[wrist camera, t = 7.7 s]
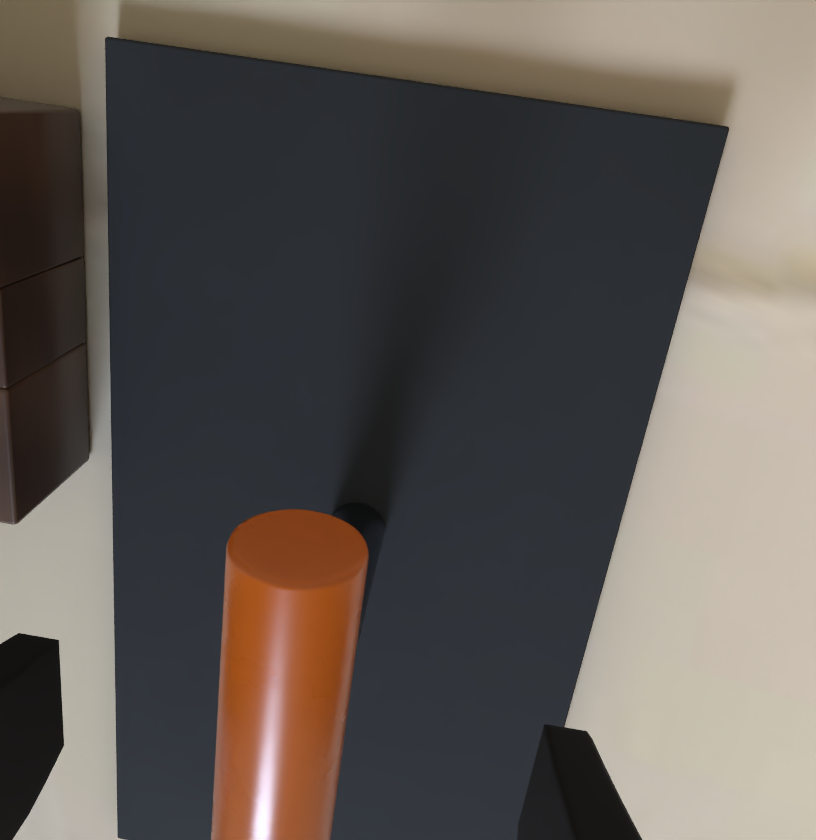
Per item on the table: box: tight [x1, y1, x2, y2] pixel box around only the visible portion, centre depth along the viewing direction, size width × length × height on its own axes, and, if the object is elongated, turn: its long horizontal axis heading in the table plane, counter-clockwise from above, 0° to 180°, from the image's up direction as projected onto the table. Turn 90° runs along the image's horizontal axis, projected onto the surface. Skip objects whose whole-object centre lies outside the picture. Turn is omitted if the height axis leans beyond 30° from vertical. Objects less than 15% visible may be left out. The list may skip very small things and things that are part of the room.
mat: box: [105, 37, 729, 840], centre depth 18 cm, size 20×11×1 cm, turn 172°
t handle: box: [211, 503, 385, 840], centre depth 13 cm, size 8×2×8 cm, turn 172°
